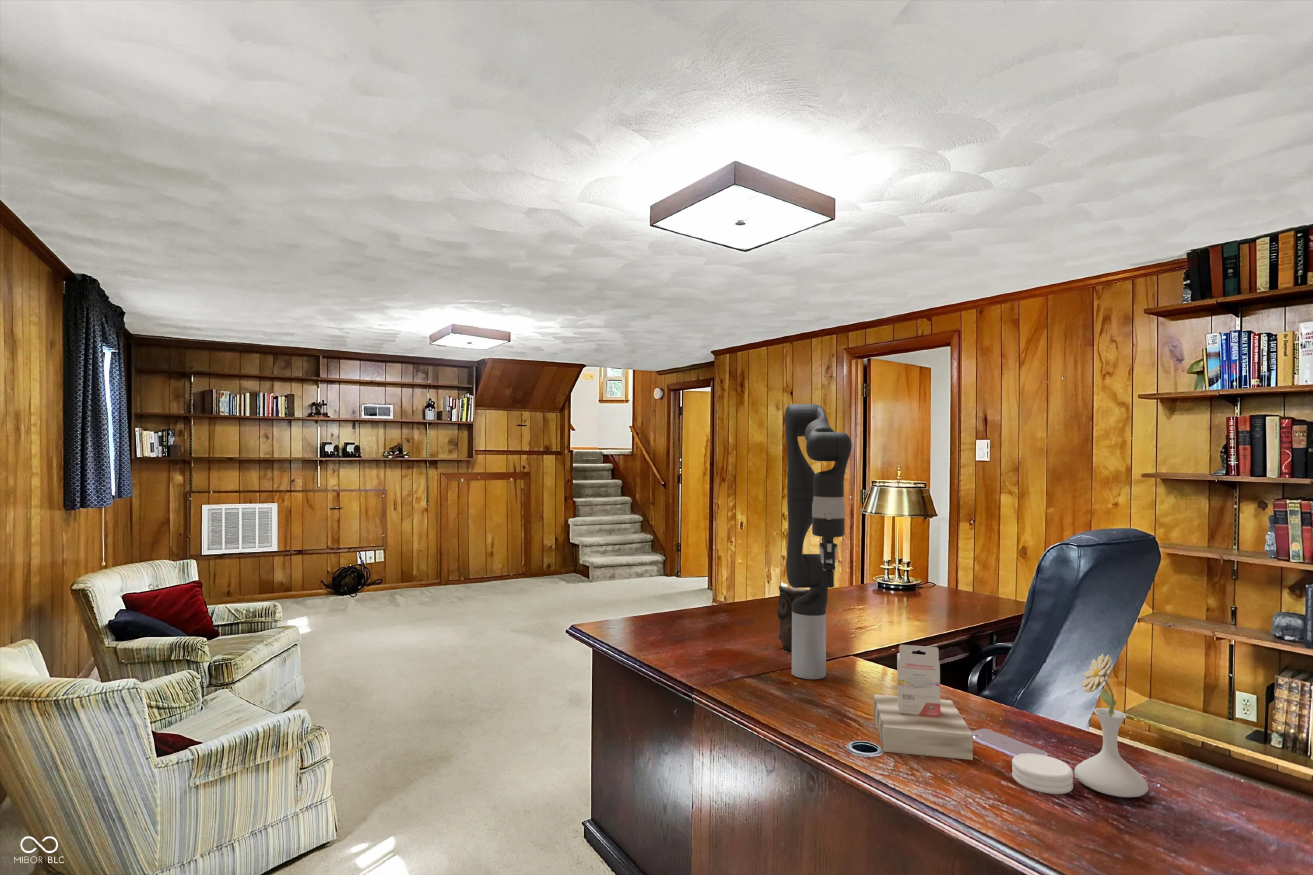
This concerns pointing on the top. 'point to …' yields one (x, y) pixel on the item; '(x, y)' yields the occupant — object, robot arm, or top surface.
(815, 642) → the robot arm
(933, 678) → the ink cartridge box
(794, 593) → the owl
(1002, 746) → the mobile phone
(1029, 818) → the top surface
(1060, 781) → the coaster
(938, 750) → the plinth
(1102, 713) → the flower in vase
